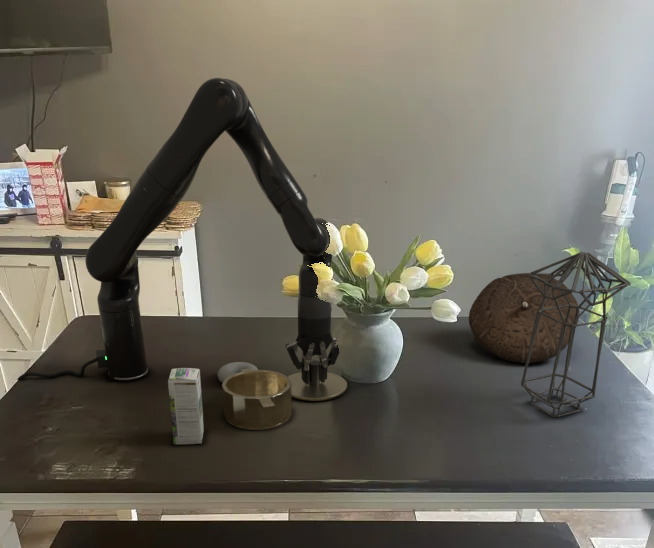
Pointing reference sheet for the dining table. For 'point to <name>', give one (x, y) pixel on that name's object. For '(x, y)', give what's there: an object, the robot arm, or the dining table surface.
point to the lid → (317, 385)
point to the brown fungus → (519, 318)
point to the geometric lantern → (569, 267)
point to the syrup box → (186, 406)
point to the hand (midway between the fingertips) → (314, 381)
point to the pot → (257, 399)
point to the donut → (233, 369)
